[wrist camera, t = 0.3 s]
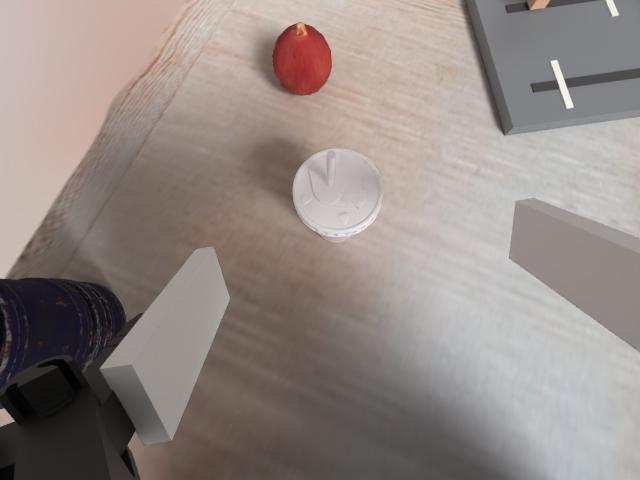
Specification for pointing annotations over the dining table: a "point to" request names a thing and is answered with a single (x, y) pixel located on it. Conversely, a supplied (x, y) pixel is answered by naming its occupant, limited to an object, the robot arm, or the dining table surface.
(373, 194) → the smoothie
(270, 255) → the dining table surface
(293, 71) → the onion
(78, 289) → the storage jar
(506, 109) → the console
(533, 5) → the fader
